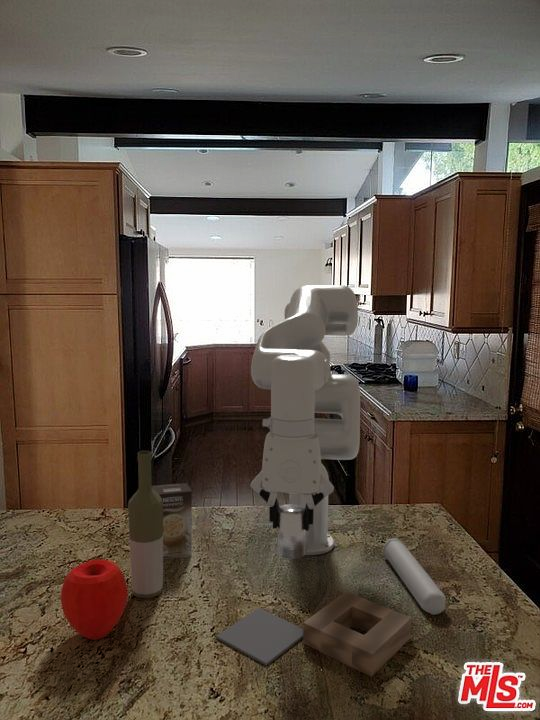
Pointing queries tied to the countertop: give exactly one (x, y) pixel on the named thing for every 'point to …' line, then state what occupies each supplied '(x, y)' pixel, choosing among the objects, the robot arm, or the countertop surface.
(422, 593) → the tube
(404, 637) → the bore block
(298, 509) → the round peg
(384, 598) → the countertop surface
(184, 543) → the coffee box
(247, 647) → the mat
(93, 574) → the apple
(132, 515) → the bottle
